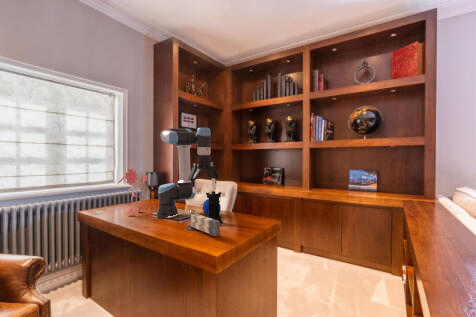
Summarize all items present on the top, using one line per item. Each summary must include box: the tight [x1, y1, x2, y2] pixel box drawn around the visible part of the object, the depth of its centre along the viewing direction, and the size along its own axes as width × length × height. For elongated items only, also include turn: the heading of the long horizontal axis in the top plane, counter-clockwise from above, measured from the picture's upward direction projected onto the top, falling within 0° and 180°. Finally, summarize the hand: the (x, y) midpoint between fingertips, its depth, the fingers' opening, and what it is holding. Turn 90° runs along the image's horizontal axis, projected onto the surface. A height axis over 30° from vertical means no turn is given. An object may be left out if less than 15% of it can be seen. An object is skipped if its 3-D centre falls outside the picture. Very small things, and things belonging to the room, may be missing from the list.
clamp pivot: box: [186, 209, 197, 231], centre depth 141 cm, size 5×5×11 cm
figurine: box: [117, 168, 150, 217], centre depth 178 cm, size 15×26×35 cm, turn 161°
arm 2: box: [194, 213, 221, 236], centre depth 132 cm, size 22×2×7 cm, turn 44°
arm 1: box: [192, 215, 218, 237], centre depth 131 cm, size 22×2×7 cm, turn 44°
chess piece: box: [205, 190, 224, 224], centre depth 151 cm, size 8×8×20 cm
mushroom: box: [202, 198, 222, 217], centre depth 169 cm, size 14×14×15 cm
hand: (204, 191), depth 136 cm, fingers open, 13 cm apart
